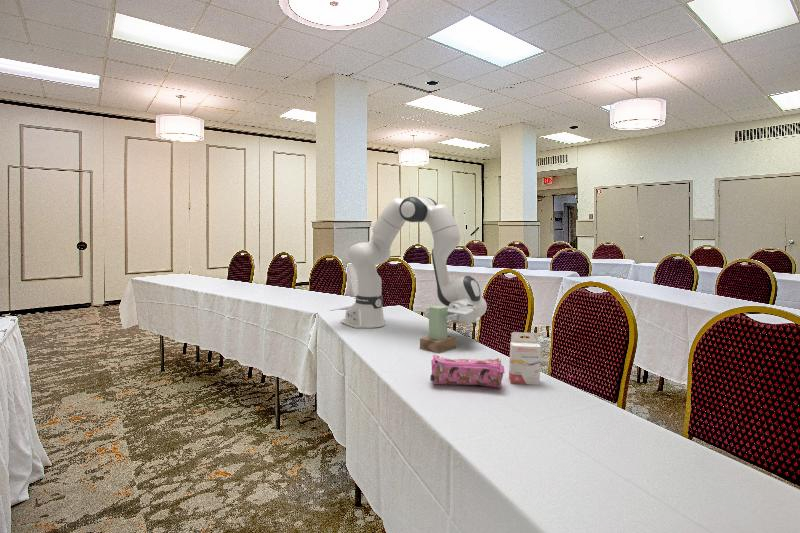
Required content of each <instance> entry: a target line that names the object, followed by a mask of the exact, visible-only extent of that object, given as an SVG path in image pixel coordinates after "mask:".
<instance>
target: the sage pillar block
mask: <svg viewBox="0 0 800 533" xmlns="http://www.w3.org/2000/svg"><path fill="white" fill-rule="evenodd" d="M431 306H432V307H429V306H428V307H429V317H428V336H429V338H432V339H436V340H441V339H445V338H447V336H448V320H445V316H446V315H448V306H446V305H444V306H443V305H431ZM445 306H446V307H445Z"/></svg>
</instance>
